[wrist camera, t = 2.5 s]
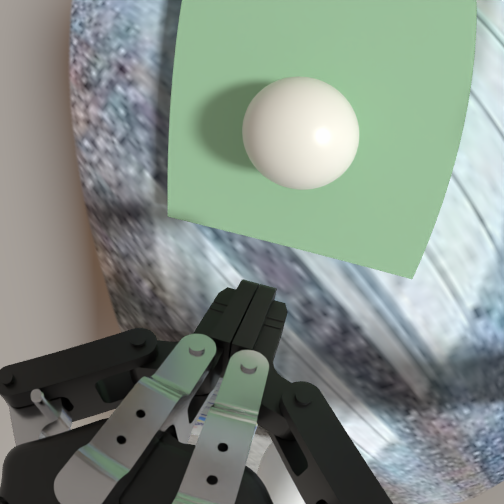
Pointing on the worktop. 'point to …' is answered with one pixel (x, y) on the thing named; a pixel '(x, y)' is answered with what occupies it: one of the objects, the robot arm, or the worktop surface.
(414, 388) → the worktop surface
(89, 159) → the worktop surface
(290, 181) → the ball
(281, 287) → the worktop surface
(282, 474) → the sauce bottle
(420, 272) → the worktop surface
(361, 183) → the putting mat
